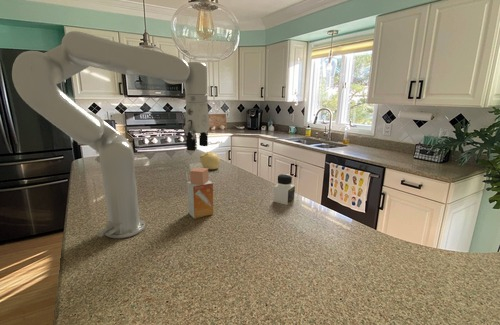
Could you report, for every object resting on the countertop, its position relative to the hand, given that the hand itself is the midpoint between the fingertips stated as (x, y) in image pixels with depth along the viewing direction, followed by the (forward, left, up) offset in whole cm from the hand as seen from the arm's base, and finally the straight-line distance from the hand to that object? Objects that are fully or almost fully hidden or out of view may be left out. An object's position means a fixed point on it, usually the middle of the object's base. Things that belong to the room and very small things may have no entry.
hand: (197, 147), depth 95 cm
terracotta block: (0, 0, -13) cm, 13 cm away
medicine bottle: (+23, -29, -27) cm, 46 cm away
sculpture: (+62, +24, -27) cm, 72 cm away
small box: (0, 0, -27) cm, 27 cm away
